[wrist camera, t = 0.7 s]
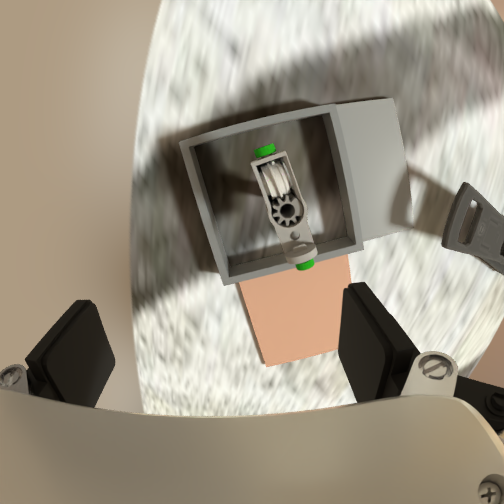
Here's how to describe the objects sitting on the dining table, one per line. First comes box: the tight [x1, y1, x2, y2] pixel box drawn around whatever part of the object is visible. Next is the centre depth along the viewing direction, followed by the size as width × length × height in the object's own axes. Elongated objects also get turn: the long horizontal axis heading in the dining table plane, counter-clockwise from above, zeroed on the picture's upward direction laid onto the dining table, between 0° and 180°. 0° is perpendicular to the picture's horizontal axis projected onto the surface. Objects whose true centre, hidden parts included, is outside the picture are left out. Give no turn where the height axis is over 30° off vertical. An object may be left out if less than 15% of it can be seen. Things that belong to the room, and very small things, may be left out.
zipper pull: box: [441, 182, 504, 275], centre depth 30 cm, size 9×7×25 cm
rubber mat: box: [239, 254, 351, 367], centre depth 36 cm, size 13×14×1 cm
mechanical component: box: [251, 143, 318, 271], centre depth 27 cm, size 3×10×10 cm, turn 21°
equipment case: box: [179, 98, 414, 286], centre depth 30 cm, size 24×16×3 cm, turn 105°
